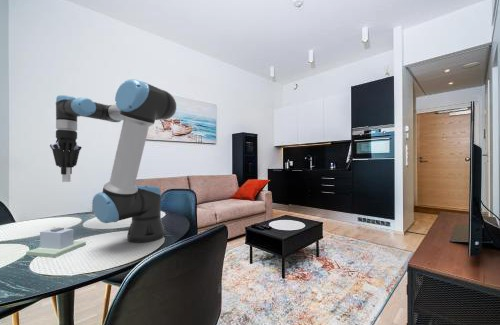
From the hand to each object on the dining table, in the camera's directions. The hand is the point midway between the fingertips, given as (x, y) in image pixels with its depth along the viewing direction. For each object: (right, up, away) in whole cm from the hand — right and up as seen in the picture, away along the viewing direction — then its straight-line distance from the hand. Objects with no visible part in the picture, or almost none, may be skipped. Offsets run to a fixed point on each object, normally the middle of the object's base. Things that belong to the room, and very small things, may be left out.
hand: (66, 181), depth 100 cm
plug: (+11, -23, -17) cm, 31 cm away
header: (+11, -24, -17) cm, 32 cm away
